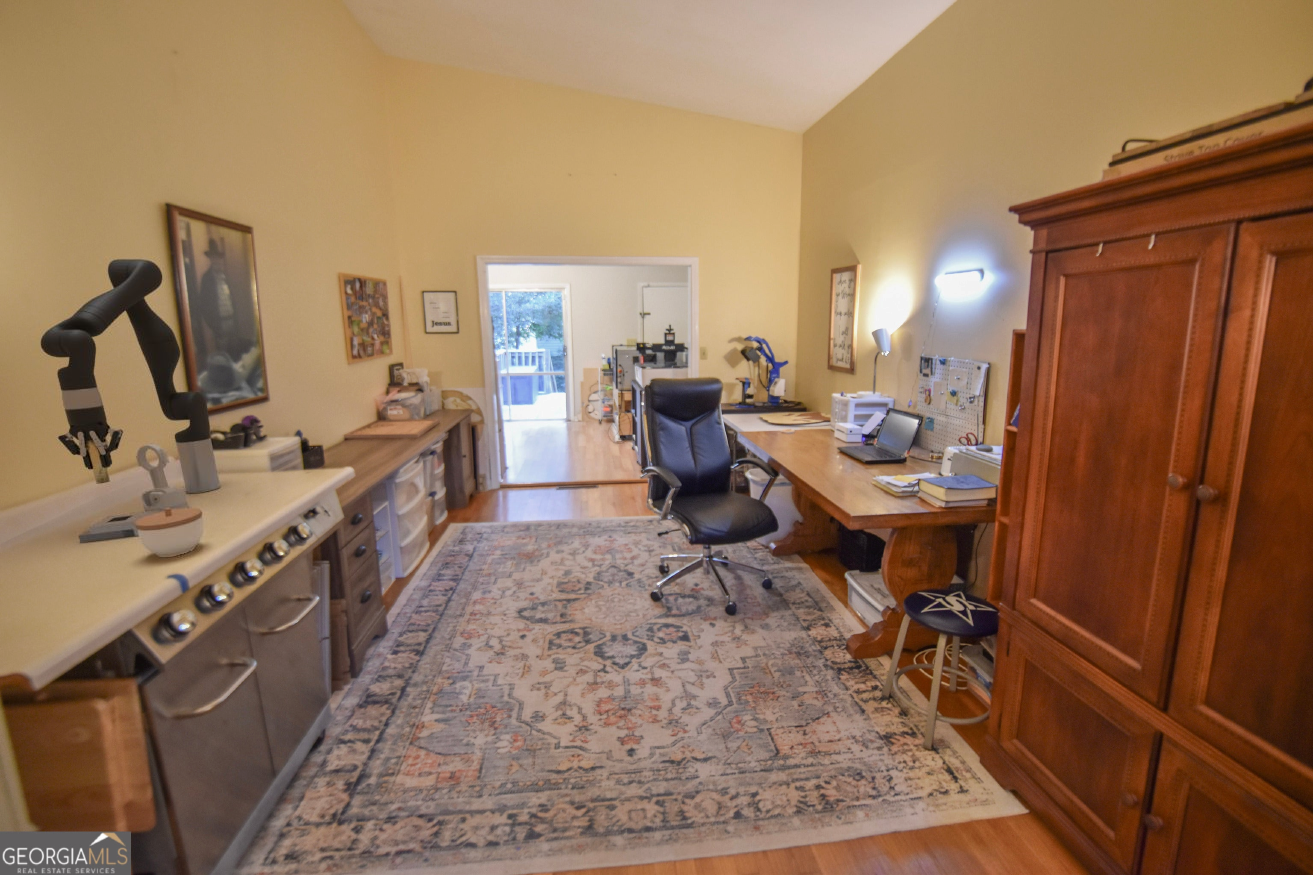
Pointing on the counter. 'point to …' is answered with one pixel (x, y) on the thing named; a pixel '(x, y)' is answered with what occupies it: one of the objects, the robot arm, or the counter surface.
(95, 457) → the brass pin
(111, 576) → the counter surface
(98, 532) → the gray slotted plate
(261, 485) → the counter surface
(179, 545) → the lidded bowl
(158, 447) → the engine component
